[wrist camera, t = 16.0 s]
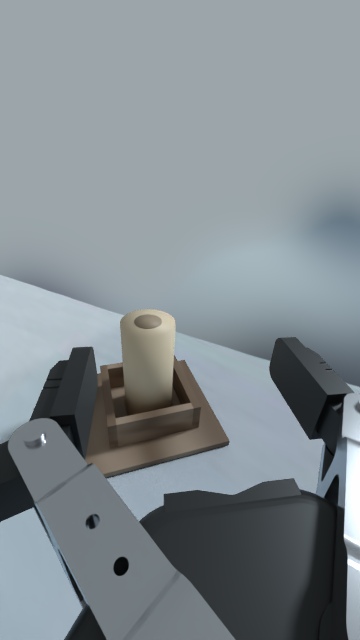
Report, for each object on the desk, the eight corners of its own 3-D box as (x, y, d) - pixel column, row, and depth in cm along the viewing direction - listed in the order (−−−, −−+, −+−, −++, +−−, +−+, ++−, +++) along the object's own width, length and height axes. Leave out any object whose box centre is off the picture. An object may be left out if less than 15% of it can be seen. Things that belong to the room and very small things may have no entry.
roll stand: (184, 363, 40) (185, 342, 38) (228, 444, 28) (233, 419, 27) (81, 379, 36) (78, 357, 34) (85, 483, 24) (80, 456, 22)
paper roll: (163, 385, 35) (165, 305, 29) (177, 416, 30) (183, 330, 25) (122, 394, 33) (116, 311, 28) (130, 428, 29) (125, 339, 23)
